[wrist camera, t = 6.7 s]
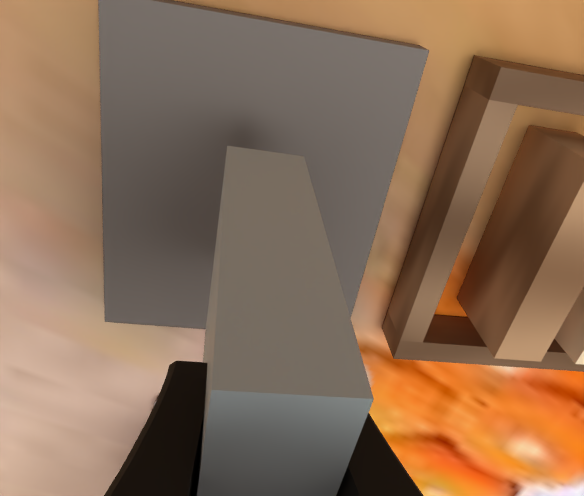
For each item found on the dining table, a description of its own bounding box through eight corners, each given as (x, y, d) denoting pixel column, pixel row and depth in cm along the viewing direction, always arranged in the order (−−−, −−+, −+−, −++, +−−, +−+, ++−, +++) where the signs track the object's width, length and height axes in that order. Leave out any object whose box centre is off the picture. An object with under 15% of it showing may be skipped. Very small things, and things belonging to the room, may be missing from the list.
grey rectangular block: (268, 329, 16) (288, 618, 9) (206, 324, 16) (179, 619, 9) (304, 156, 13) (374, 399, 6) (227, 145, 12) (211, 390, 6)
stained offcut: (495, 300, 23) (540, 361, 19) (455, 296, 22) (494, 358, 19) (574, 131, 19) (649, 171, 15) (527, 124, 18) (592, 163, 15)
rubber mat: (340, 324, 22) (343, 339, 21) (110, 306, 21) (104, 321, 20) (419, 45, 16) (429, 50, 16) (106, -12, 15) (98, -10, 14)
